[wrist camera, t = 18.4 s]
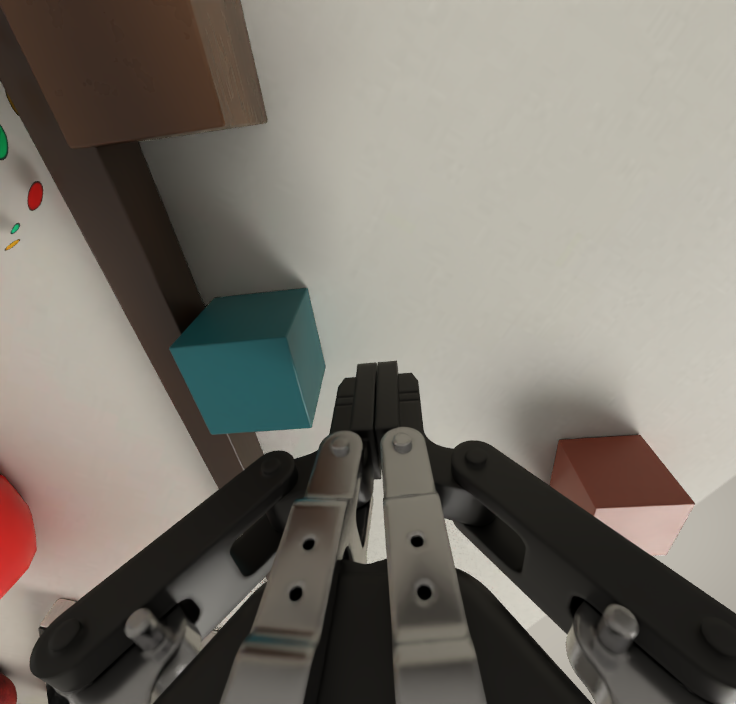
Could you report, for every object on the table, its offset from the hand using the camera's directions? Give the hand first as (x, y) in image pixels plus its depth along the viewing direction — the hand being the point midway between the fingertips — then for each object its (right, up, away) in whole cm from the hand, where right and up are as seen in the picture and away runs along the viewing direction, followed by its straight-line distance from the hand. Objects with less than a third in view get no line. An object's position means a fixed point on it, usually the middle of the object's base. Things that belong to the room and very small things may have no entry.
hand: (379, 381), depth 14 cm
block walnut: (-7, +11, -2) cm, 13 cm away
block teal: (-5, +2, +4) cm, 7 cm away
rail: (-8, -6, +9) cm, 14 cm away
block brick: (+13, -6, +8) cm, 17 cm away
